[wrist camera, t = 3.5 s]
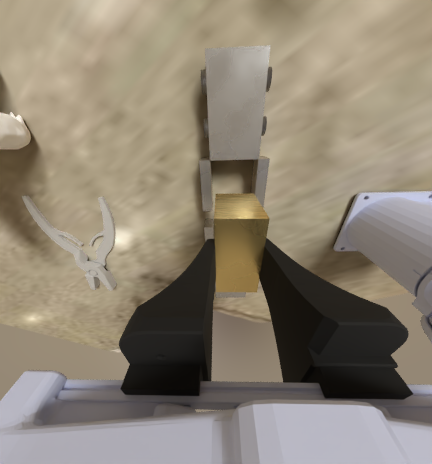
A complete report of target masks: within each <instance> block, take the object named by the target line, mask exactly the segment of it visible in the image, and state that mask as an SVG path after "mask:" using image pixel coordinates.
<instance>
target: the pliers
mask: <svg viewBox="0 0 432 464" xmlns="http://www.w3.org/2000/svg"><path fill="white" fill-rule="evenodd" d="M21 197H22V199H23V201H24V203H25V205H26V207H27V209H28V211H29V213H30V214H31V216H32V217H33V219H34V220H35V221H36V223H37V224H38V225H39V226H40V228H41V229H42V230H43V231H44V232H45V233H46V234H47V235H48V236H49V237H50V238H51V239H52V240H53V241H54V242H56V243H57V244H58V245H59V246H61V247H62V248H63V249H65V250H67V251H68V252H70V253H72V254H74V257H75V261H76V264H77V265H78V266H79V267H80V269H82V270H84V271H86V272H87V273H86V275H85V277H86V279H87V281H88V283H89V285H90V287H91V289H94V290H96V288H97V287H98V286H99V285H100V280H101V282H102V283H103V284H104V285H105V286H106V287H107V288H108V290H109V291H110V290H113V289H114V287H115V286H116V284H117V283H116V281H115V279H114V277H113V275H112V273H111V271H110V270H108V271H106V269H105V268H104V266H105V265H106V264H107V263H106V257H107V255H108V253H109V252H110V250H111V249H112V248H113V245H114V242H115V224H114V219H113V216H112V213H111V210H110V208H109V206H108V204H107V202H106V200H105V198H104V197H98V200H99V203H100V207H101V212H102V216H103V223H104V230H103V231H101V232H99V233H97V234H96V235H95V236H94V237H93V238H92V239H91V241H90V245H89V246H92V245H93V243H94V240H95V239H96V238H97V237H98V236H103V235H104V237H103V241H102V243H101V245H100V246H99V248H98V249H97V250H96V254H97V259H96V260H92V261H87V260H88V256H87V254H86V253H85V252H84V251H83V250H82V249H81V248H79V247H78V246H76V245H75V244H73V243H71V242H70V241H68V240H67V239H65V238H64V237H63V236H65V237H67V238H70V239H71V240H73V241H74V242H76V243H77V244H79V245H80V246H81V245H83V243H82V242H81V241H80V240H78V239H77V238H75V237H74V236H72V235H70V234H68V233H66V232H63V231H60V230H58V229H56V228H54V227H53V226H52V225H51V224H50V223H49V222H48V221H47V219H46V218H45V217H44V216H43V215H42V213H41V212H40V211H39V209H38V208H37V207H36V205H35V204H34V203H33V201H32V200H31V198H30V197H29V196H27V195H25V196H21ZM99 279H100V280H99Z"/></svg>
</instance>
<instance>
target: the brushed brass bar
mask: <svg viewBox="0 0 432 464" xmlns="http://www.w3.org/2000/svg"><path fill="white" fill-rule="evenodd" d="M268 224H269V217H268V215H267V214H266V212H265V211H264V209H263V207H262V206H261V204H260V202H259V201H258V199H257V198H256V196H255V194H254V193H249V194H216V198H215V215H214V229H215V252H216V292H257V289H258V283H259V276H260V270H261V264H262V258H263V252H264V246H265V242H266V236H267V230H268Z"/></svg>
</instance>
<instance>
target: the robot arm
mask: <svg viewBox="0 0 432 464" xmlns="http://www.w3.org/2000/svg"><path fill="white" fill-rule="evenodd" d="M365 196H366V198H364V197H365ZM334 250H335V251H360V252H361V253H362V254H363V255H365V256H366V257H367V258H368V259H369V260H371V261H372V262H373V263H374V264H376V265H377V266H378V267H379V268H381V269H382V270H383V271H384V272H386V273H387V274H388V275H389V276H390V277H392V278H393V279H394V280H395V281H397V282H398V283H399V284H400V285H402V286H403V287H404V288H405V289H406V290H408V291H409V292H410V293H411V294H413V295H414V296H415V297H416V299H415V301H414V302H413V303H412V305H414V306H415V307H416V308H417V309H418V310H419V311H420V312H421V313H423V314H424V315H423V316H422V317H421V326H422V328H423V330H424V332H425V334H426V335H427V337H428V338H429V340H430V341H431V343H432V191H412V192H370V193H359V194H357V195H356V196H355V198H354V201H353V203H352V205H351V208H350V210H349V212H348V215H347V217H346V219H345V222H344V224H343V226H342V229H341V231H340V233H339V236H338V238H337V240H336V243H335V245H334ZM259 279H260V282H261V285H262V288H263V291H264V294H265V297H266V300H267V303H268V306H269V310H270V315H271V319H272V324H273V328H274V333H275V338H276V343H277V348H278V353H279V359H280V365H281V369H282V377H283V383H282V382H280V383H279V382H214V381H211V367H212V365H211V364H212V320H213V300H214V292H215V283H216V252H215V239H207V240H206V242H205V244H204V246H203V248H202V249H201V251H200V252H199V254H198V255H197V257H196V258H195V259H194V261H193V262H192V263H191V264H190V266H189V267H188V268H187V269H186V270H185V271H184V272H183V273H182V274H181V275H180V276H179V277H178V278H177V279H176V280H175V281H174V282H173V283H172V284H170V285H169V286H168V287H167V288H165V289H164V290H163V291H161V292H160V293H159V294H157V295H156V296H154V297H153V298H151V299H150V300H148V301H147V302H145V303H144V304H142V305H140V306H139V307H137V309H136V311H135V312H134V314H133V315H132V317H131V319H130V320H129V322H128V324H127V326H126V328H125V330H124V332H123V334H122V336H121V339H120V341H119V346H120V349H121V351H122V353H123V354H124V356H125V357H126V359H127V360H128V362H129V363H130V366H129V368H128V371H127V373H126V376H125V379H124V380H81V379H67V378H66V376H65V375H64V374H62V373H60V372H57V371H51V370H28V371H25V372H24V373H23V374H22V376H21V377H20V378H19V379H18V380H17V382H16V383H15V384H14V385H13V386H12V388H11V389H10V390H9V391H8V392H7V394H6V395H5V396H4V397H3V399H2V400H1V401H0V464H432V385H414V384H406V383H405V382H404V381H403V379H402V378H401V377H400V375H399V374H398V373H397V372H396V370H395V369H394V368H397V367H398V365H397V363H396V362H395V361H394V359H393V358H392V357H391V356H390V355H391V354H392V353H393V352H395V351H396V350H397V349H398V348H399V347H400V346H401V345H403V344H404V342H405V341H406V340H407V338H408V330H407V328H405V326H404V325H403V324H401V322H400V321H399V320H398V319H397V318H396V317H395V316H394V315H393V314H392V313H391V312H390V311H389V310H388V309H387V308H385V307H383V306H380V305H378V304H375V303H373V302H370V301H368V300H365V299H363V298H360V297H358V296H356V295H354V294H351V293H349V292H347V291H345V290H343V289H341V288H339V287H337V286H335V285H333V284H331V283H329V282H327V281H325V280H323V279H321V278H320V277H318V276H316V275H315V274H313V273H311V272H310V271H308V270H307V269H305V268H304V267H302V266H301V265H299V264H298V263H297V262H295V261H294V260H292V259H291V258H290V257H289V256H287V255H286V254H285V253H284V252H282V251H281V250H280V249H279V248H278V247H277V246H276V245H274V244H273V243H272V242H271V241H270V240H269V239H267V238H266V242H265V246H264V252H263V258H262V264H261V270H260V276H259ZM195 409H211V410H219V411H207V412H196V411H195Z"/></svg>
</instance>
